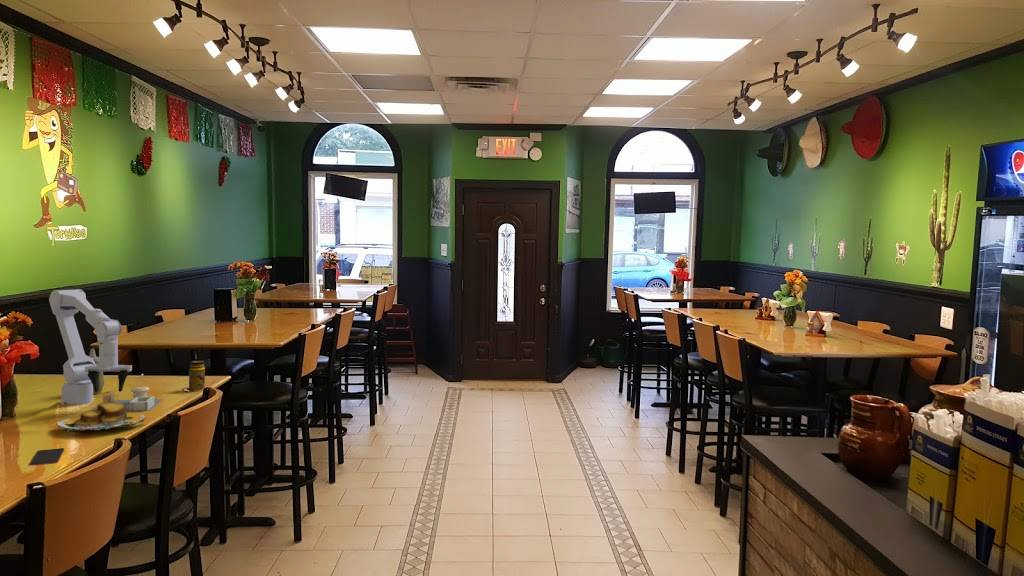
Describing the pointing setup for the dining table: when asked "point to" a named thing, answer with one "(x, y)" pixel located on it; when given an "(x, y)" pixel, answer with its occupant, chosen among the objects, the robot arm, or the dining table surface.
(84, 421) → the food on plate
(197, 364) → the condiment
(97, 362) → the squeeze bottle
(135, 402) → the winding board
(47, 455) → the smartphone
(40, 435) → the dining table surface
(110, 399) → the tan small block
